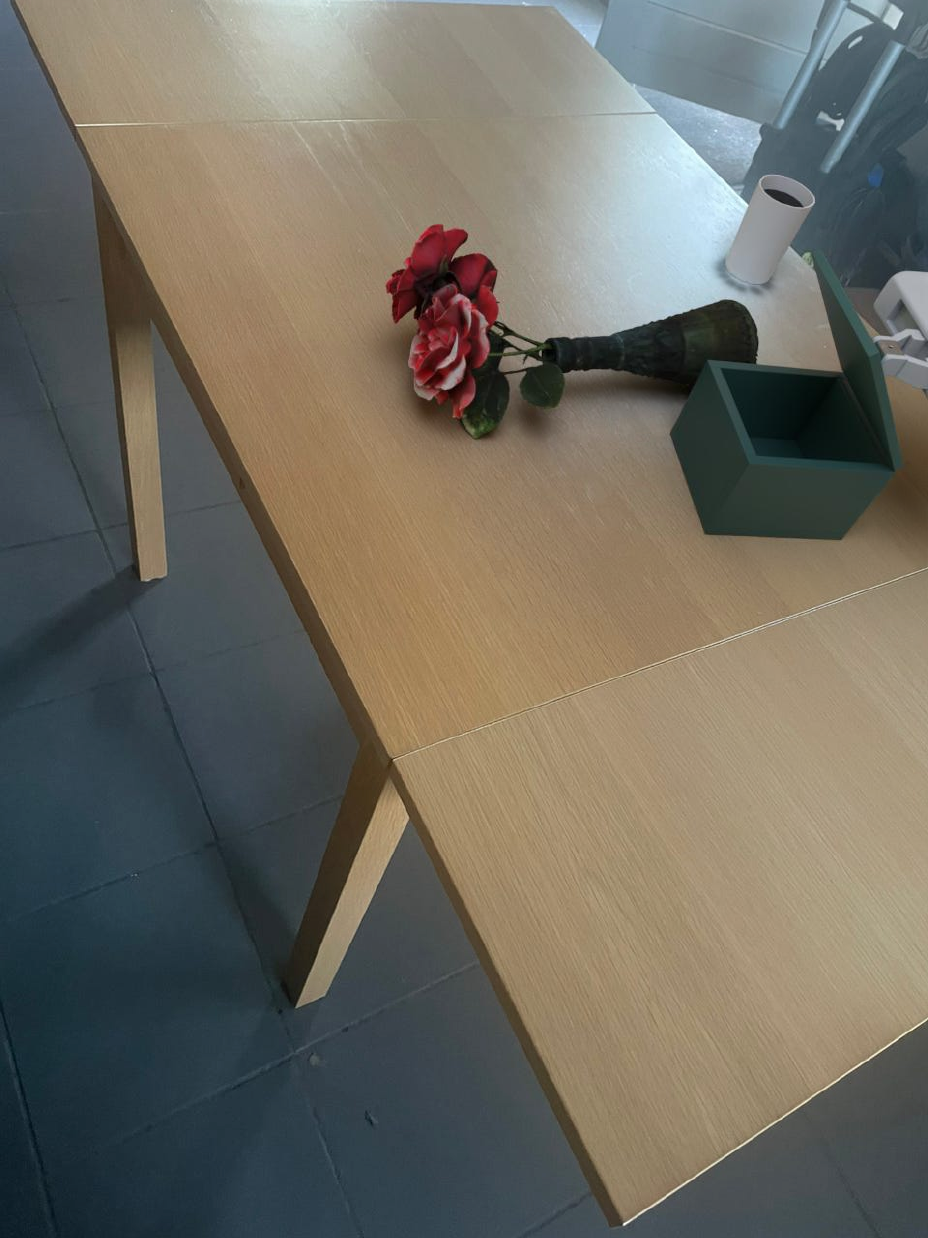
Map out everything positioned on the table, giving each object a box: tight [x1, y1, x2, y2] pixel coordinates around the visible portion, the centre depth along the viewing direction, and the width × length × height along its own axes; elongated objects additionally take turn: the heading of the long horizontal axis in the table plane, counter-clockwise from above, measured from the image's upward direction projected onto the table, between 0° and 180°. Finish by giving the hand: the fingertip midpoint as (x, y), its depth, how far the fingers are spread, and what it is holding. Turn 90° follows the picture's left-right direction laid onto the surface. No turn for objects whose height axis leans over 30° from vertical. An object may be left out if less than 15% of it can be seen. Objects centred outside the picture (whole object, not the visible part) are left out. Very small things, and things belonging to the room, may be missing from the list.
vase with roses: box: [385, 223, 760, 439], centre depth 87 cm, size 16×18×35 cm
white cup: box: [724, 174, 816, 285], centre depth 107 cm, size 7×7×10 cm
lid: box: [810, 247, 905, 471], centre depth 77 cm, size 15×13×1 cm
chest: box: [669, 360, 897, 541], centre depth 84 cm, size 14×13×9 cm
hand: (875, 354), depth 76 cm, fingers closed
